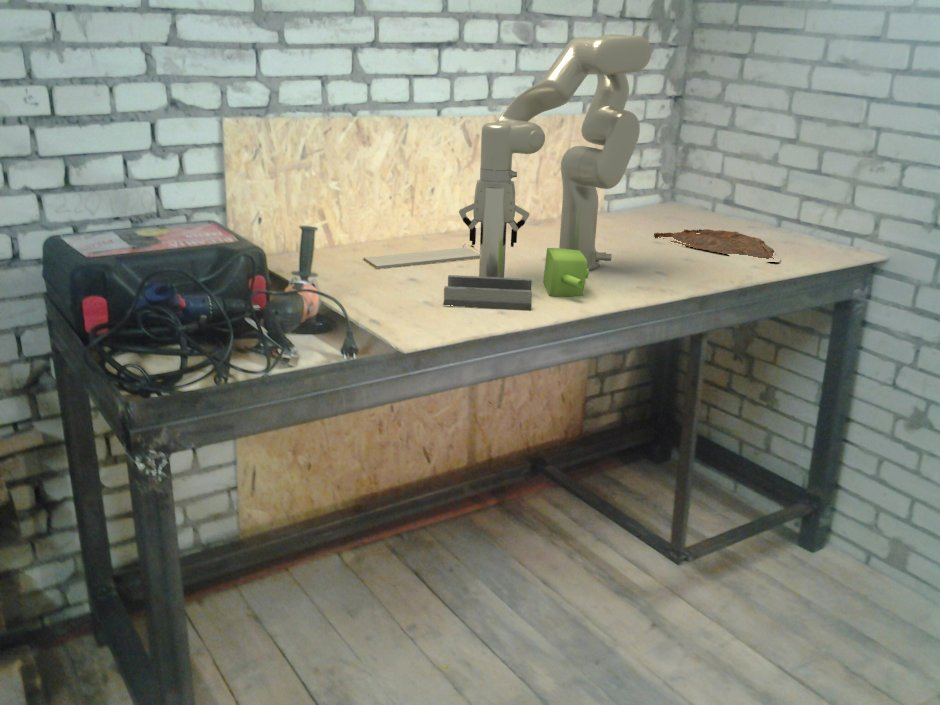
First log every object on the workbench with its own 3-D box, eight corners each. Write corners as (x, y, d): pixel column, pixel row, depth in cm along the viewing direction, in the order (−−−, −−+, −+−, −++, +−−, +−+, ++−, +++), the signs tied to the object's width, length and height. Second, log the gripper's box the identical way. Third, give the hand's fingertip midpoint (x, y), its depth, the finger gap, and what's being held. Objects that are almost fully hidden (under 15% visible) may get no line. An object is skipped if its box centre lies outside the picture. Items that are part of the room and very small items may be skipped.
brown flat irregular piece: (651, 245, 271) (652, 229, 269) (714, 236, 286) (715, 221, 284) (754, 269, 239) (756, 251, 238) (819, 257, 254) (821, 240, 252)
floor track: (530, 293, 211) (531, 277, 210) (530, 310, 199) (531, 293, 198) (448, 289, 212) (449, 273, 211) (443, 306, 200) (443, 289, 199)
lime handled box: (593, 304, 206) (598, 266, 203) (552, 302, 205) (556, 264, 202) (579, 281, 223) (584, 245, 219) (541, 279, 222) (545, 243, 218)
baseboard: (360, 260, 238) (376, 271, 228) (360, 250, 237) (376, 260, 227) (462, 250, 251) (481, 260, 241) (462, 240, 250) (481, 250, 240)
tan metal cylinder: (488, 275, 225) (491, 178, 216) (509, 280, 221) (513, 181, 212) (473, 281, 220) (476, 181, 211) (495, 286, 216) (499, 185, 207)
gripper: (531, 174, 214) (527, 242, 220) (461, 171, 215) (459, 239, 221) (531, 179, 207) (527, 250, 213) (458, 176, 208) (457, 246, 214)
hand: (492, 244), depth 217 cm, fingers open, 9 cm apart
